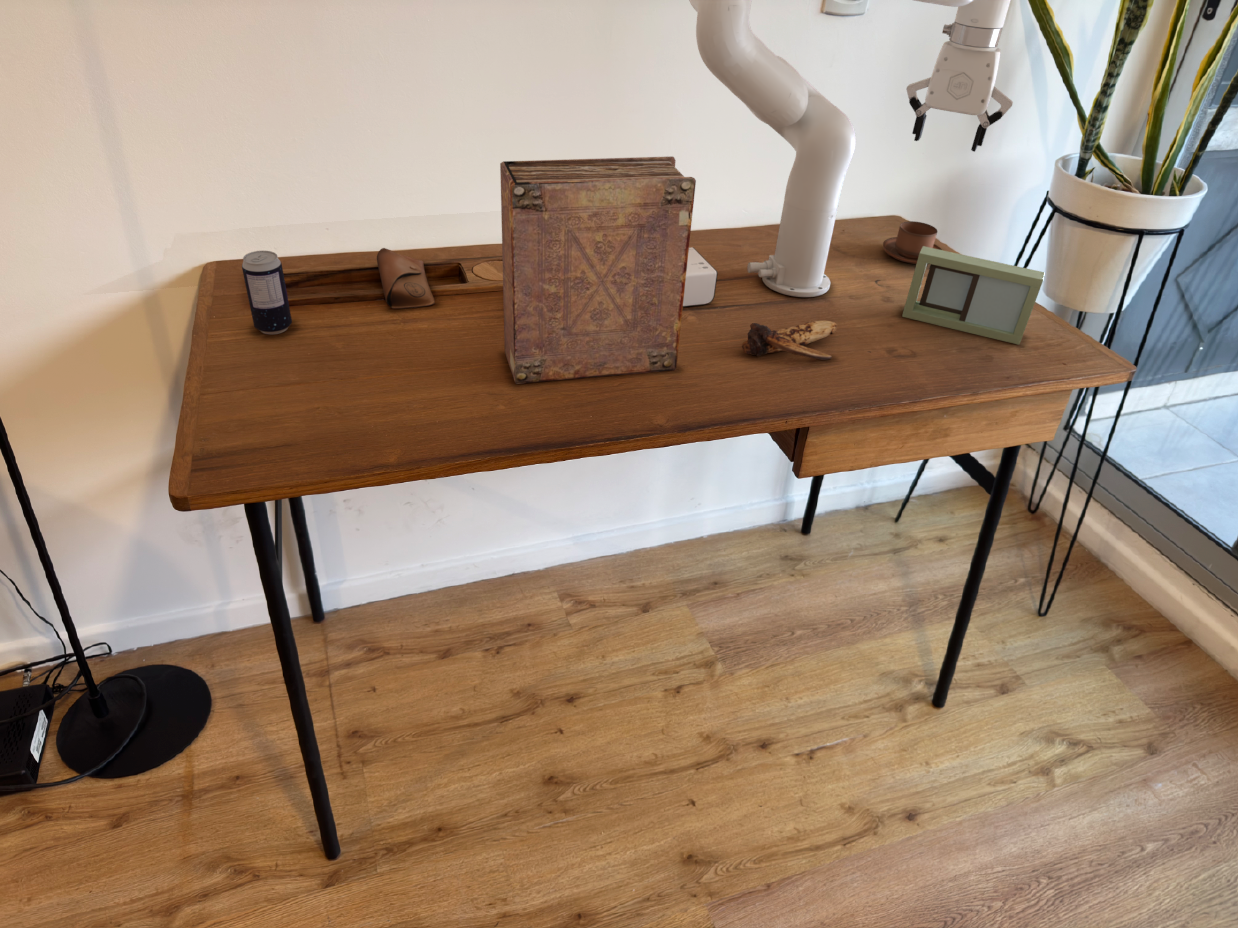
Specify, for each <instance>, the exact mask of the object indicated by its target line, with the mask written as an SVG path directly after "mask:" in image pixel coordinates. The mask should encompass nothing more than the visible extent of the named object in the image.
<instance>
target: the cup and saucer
mask: <svg viewBox="0 0 1238 928" xmlns="http://www.w3.org/2000/svg"><path fill="white" fill-rule="evenodd" d="M937 235H938V229H937V228H936V227H935V226H933V225H931V224H928V223H926V222H922V221H913V220H912V221H911V220H910V221H903V222H901V223H900V224H899V228H898V232H897V236H894V237H889V238H887V239H885V240H883V242H882V248H883V250H884V251H885V253H886V254H887V255H888V256H890V258H891V257H892V258H893V259H895V260H897V261H900V262H903V263H906V264H911V265H916V264H917V261H918V257H919V253H920V251H921V249H922V247H923V246H925V247H929V248H934V249H939V250H943V249H942V248H941V247H940V246H939V245H937V244H935V243H936V242H935V241H936V238H937ZM927 265H929V264H928V263H927Z"/></svg>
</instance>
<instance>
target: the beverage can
mask: <svg viewBox="0 0 1238 928" xmlns="http://www.w3.org/2000/svg"><path fill="white" fill-rule="evenodd" d="M242 260H243V261H242V265H241V269H242V270H241V271H242V273H243V279H244V284H245V290H246V294H247V299H248V305H249V309H250V314H251V318H252V323H253V327H254V328H255V329H256V330H258V331H259V332H260V333H262V334H264V335H278V334H282V333H284V332H286V331H287V330H288V328H289V327H290V326H292V323H293V319H292V315H291V308H290V303H289V297H288V296H289V295H288V292H287V286H286V281H285V273H284V268H283V264H282V261H281V259H279V257H278V253H276V252H273V251H271V250H254V251H251V252H248V253H246V254H245V255H243V257H242Z"/></svg>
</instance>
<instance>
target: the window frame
mask: <svg viewBox="0 0 1238 928" xmlns="http://www.w3.org/2000/svg"><path fill="white" fill-rule="evenodd" d="M927 263H928V264H927ZM931 264H932V265H937V266H941V267H946V268H951V269H955V270H960V271H964V272H969V273H973V274H974V275H973V278H972V281H971V284H970V287H969V291H968V294H967V297H966V300H965V303H964V306H963V309H962V312H961V315H960V314H956V313H951V312H947V311H943V310H939V309H934V308H930V307H926V306H922V305H919V303H920V300H919V301H918V298H919V294H920V291H921V287H922V283H923V280H924V276H925V273H926V270H927V267H928V265H931ZM1044 278H1045V271H1040V270H1036V269H1031V268H1027V267H1022V266H1017V265H1013V264H1008V263H1004V262H999V261H994V260H990V259H985V258H980V257H975V256H971V255H966V254H961V253H957V252H952V251H948V250H943V249H942V250H939V249H934V248H929V247H925V246H923V247H922V249H921V251H920V253H919V257H918V261H917V264H915V268H914V271H913V275H912V279H911V282H910V285H909V290H908V292H907V293H908V294H907V297H906V301H905V304H904V308H903V311H902V315H901V316H902V318H906V319H910V320H913V321H919V322H922V323H927V324H931V325H935V326H939V327H944V328H947V329H952V330H955V331H959V332H964V333H968V334H972V335H977V336H981V337H984V338H989V339H993V340H997V341H1001V342H1005V343H1009V344H1013V345H1018V346H1019V345H1021V341H1022V339H1023V336H1024V335H1025V330H1026V329H1027V325H1028V323H1029V320H1030V317H1031V315H1032V311H1033V309H1034V307H1035V304H1036V301H1037V300H1038V295H1039V293H1040V290H1041V288H1042V285H1043V283H1044V280H1045V279H1044Z"/></svg>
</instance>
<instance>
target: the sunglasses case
mask: <svg viewBox="0 0 1238 928" xmlns="http://www.w3.org/2000/svg"><path fill="white" fill-rule="evenodd" d="M376 263H377V268H378V271H379V277H380V281H381V285H382V286H381V287H382V290H383V295H384V299H385V302H386V304H387V305H388V306H389V307H390V308H392V310H399V309H400V310H405V309H417V308H424V307H429V306H432V305H434V304H436V299H435V297H434V295H433V292H432V290H431V287H430V284H429V282H428V277H427V275H426V271H425V265H424V264H425V263H424V261H423V260H421V259H419V258H418V259H417V258H414V257H410V256H407V255H403V254H400V253H397V252H395V251H393V250H391V249H388V248H385V247H382V248H381V249H380V250H378V252H377V254H376Z"/></svg>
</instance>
